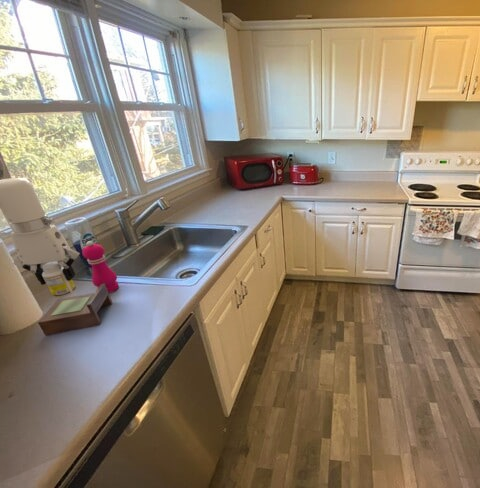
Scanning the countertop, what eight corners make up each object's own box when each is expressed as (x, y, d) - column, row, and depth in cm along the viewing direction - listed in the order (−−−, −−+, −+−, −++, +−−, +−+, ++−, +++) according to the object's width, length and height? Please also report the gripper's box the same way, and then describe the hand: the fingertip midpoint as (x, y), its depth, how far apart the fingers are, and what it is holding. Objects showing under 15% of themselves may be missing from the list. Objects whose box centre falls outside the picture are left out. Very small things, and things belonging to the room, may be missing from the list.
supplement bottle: (68, 286, 89) (54, 258, 85) (81, 289, 88) (67, 261, 84) (48, 296, 85) (32, 267, 80) (62, 299, 83) (46, 270, 79)
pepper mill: (109, 295, 102) (88, 246, 93) (92, 293, 103) (70, 245, 94) (125, 284, 108) (107, 237, 99) (109, 282, 109) (89, 236, 101)
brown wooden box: (45, 335, 84) (32, 314, 80) (64, 311, 94) (54, 291, 91) (100, 324, 88) (90, 304, 84) (112, 302, 98) (104, 283, 95)
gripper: (74, 216, 82) (97, 269, 90) (-1, 223, 77) (30, 279, 85) (62, 225, 76) (87, 281, 84) (-21, 234, 71) (15, 292, 79)
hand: (58, 279), depth 84 cm, fingers closed on supplement bottle, 5 cm apart
